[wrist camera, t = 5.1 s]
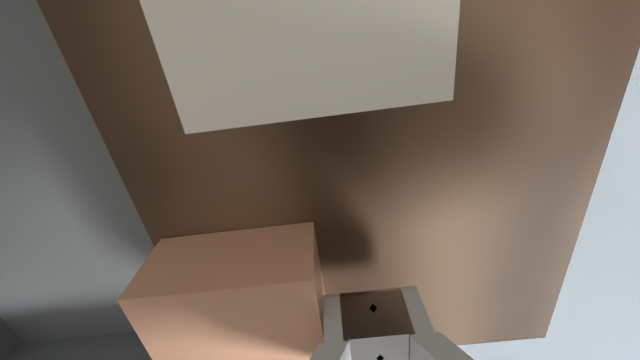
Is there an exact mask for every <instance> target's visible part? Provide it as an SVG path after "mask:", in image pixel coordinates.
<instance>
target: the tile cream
mask: <svg viewBox="0 0 640 360" xmlns="http://www.w3.org/2000/svg"><path fill="white" fill-rule="evenodd" d="M139 1H140V4H141V7H142V10H143V12H144V15H145V18H146V21H147V24H148V27H149V30H150V33H151V36H152V39H153V42H154V44H155V47H156V50H157V53H158V56H159V59H160V62H161V65H162V68H163V71H164V74H165V76H166V79H167V82H168V85H169V88H170V91H171V94H172V97H173V100H174V103H175V106H176V108H177V111H178V114H179V117H180V120H181V123H182V126H183V129H184V132H185V134H191V133H199V132H207V131H215V130H223V129H231V128H238V127H246V126H254V125H262V124H270V123H278V122H286V121H293V120H301V119H309V118H317V117H325V116H333V115H341V114H348V113H356V112H364V111H372V110H380V109H388V108H396V107H404V106H411V105H419V104H427V103H435V102H443V101H451V100H453V94H454V80H455V66H456V53H457V39H458V26H459V12H460V0H139Z"/></svg>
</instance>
